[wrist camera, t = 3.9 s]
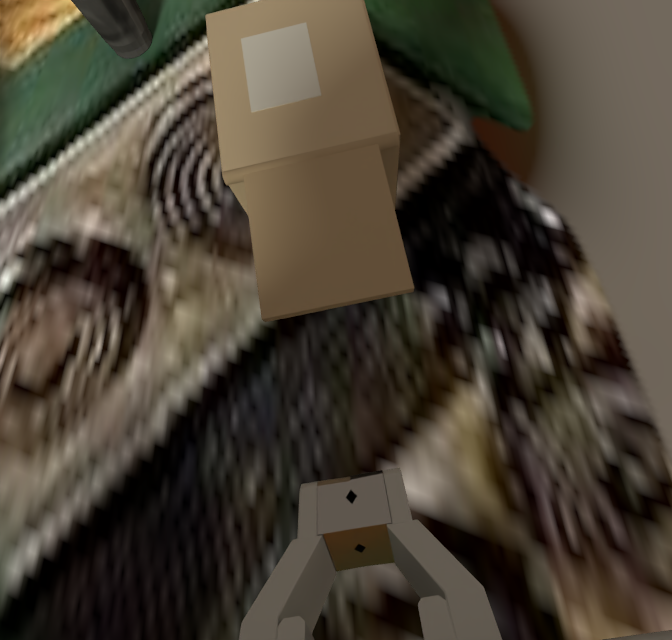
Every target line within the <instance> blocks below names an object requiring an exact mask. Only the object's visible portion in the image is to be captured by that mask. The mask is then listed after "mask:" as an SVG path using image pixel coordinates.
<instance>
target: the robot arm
mask: <svg viewBox="0 0 672 640" xmlns="http://www.w3.org/2000/svg"><path fill="white" fill-rule="evenodd" d="M387 563H395V564H396V566H397V567H398V568H399V570H400V571H401V572H402V574H403V575H404V576H405V578H406V579H407V580H408V582H409V583H410V584H411V586H412V587H413V588H414V590H415V591H416V593H417V594H418V595H419V597H420V598H421V600H420V602H419V604H418V608H419V614H420V619H421V625H422V630H423V636H424V640H502V638H501V636H500V633H499V630H498V627H497V624H496V621H495V618H494V616H493V613H492V610H491V607H490V604H489V601H488V598H487V595H486V593H485V590H484V587H483V586H482V585H481V584H480V583H479V582H478V581H477V580H476V579H475V578H474V577H473V576H472V575H471V574H470V573H469V572H468V571H467V570H466V569H465V568H464V567H463V566H462V565H461V564H460V563H459V562H458V560H457V559H456V558H455V557H454V556H453V555H452V554H451V553H450V552H449V551H448V550H447V549H446V548H445V547H444V546H443V545H442V544H441V543H440V542H439V541H438V540H437V539H436V538H435V537H434V536H433V535H432V534H431V533H430V532H429V531H428V530H427V529H426V528H425V527H424V526H423V525H422V524H421V523H420V522H419V521H418V520H412V517H411V512H410V508H409V504H408V499H407V495H406V491H405V486H404V482H403V478H402V474H401V470H400V468H394V469H389V470H383V471H382V470H380V471H375V472H370V473H364V474H359V475H354V476H350V477H346V478H339V479H332V480H325V481H318V482H312V483H306V484H301V487H300V495H299V517H298V538H297V539H294V540H292V541H291V543H290V545H289V546H288V548H287V550H286V551H285V553H284V555H283V556H282V558H281V559H280V561H279V563H278V564H277V566H276V568H275V569H274V571H273V572H272V574H271V576H270V577H269V579H268V581H267V582H266V584H265V585H264V587H263V589H262V590H261V592H260V594H259V595H258V597H257V598H256V600H255V602H254V603H253V605H252V607H251V608H250V610H249V611H248V613H247V615H246V616H245V618H244V620H243V621H242V624H241V630H240V637H239V640H314V638H313V636H312V631H313V629H314V627H315V624H316V622H317V619H318V617H319V615H320V612H321V610H322V607H323V605H324V603H325V600H326V598H327V595H328V593H329V591H330V588H331V586H332V583H333V581H334V579H335V576H336V572H337V571H342V570H348V569H353V568H358V567H364V566H371V565H379V564H387ZM604 640H672V630H669V631H661V632H654V633H647V634H640V635H632V636H625V637H618V638H611V639H604Z"/></svg>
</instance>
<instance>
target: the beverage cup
mask: <svg viewBox="0 0 672 640" xmlns="http://www.w3.org/2000/svg"><path fill="white" fill-rule="evenodd" d="M71 1H72V2H73V3H74V4H75V5H76V7H77V8H78V9H79V10H80V11H81V13H82V14H83V15H84V16H85V17H86V19H87V20H88V21H89V22H90V23H91V25H92V26H93V27H94V28H95V29H96V31H97V32H98V33H99V34H100V35H101V37H102V38H103V39H104V40H105V41H106V43H108V44H109V45H110V46H111V48H112V49H114V51H115V52H116V53H117V55H119V56H120V57H122V58H134V57H137V56H140V55H141V54H143V53H144V52H145V51H146V50H147V49H148V48H149V47H150V45H151V43H152V34H151V32H150V31H149V29H148V26H147V24H146V22H145V18H144V16H143V14H142V12H141V10H140V8H139V6H138V4H137V2H136V0H71Z"/></svg>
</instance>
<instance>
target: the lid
mask: <svg viewBox="0 0 672 640" xmlns="http://www.w3.org/2000/svg"><path fill="white" fill-rule="evenodd" d="M206 24H207V33H208V42H209V51H210V60H211V69H212V78H213V87H214V96H215V105H216V115H217V124H218V133H219V142H220V151H221V160H222V169H223V172H222V174H223V179H224V181H225V184H226V185H231V184H236V183H240V182H244V184H245V191H246V199H247V207H248V215H249V223H250V231H251V238H252V246H253V254H254V262H255V270H256V277H257V285H258V293H259V301H260V309H261V317H262V320H263V321H265V322H268V321H273V320H278V319H282V318H287V317H292V316H297V315H302V314H307V313H312V312H317V311H322V310H327V309H332V308H336V307H341V306H346V305H351V304H356V303H361V302H366V301H371V300H376V299H381V298H385V297H390V296H395V295H400V294H405V293H410V292H413V291H414V285H413V281H412V277H411V273H410V269H409V265H408V261H407V257H406V253H405V249H404V245H403V241H402V237H401V233H400V229H399V225H398V221H397V217H396V213H395V209H394V205H393V201H392V197H391V193H390V189H389V185H388V181H387V177H386V173H385V169H384V165H383V161H382V157H381V153H380V151H381V150H385V149H389V148H394V147H398V146H399V136H398V133H397V130H396V126H395V123H394V119H393V115H392V112H391V108H390V104H389V100H388V97H387V93H386V89H385V86H384V82H383V78H382V74H381V71H380V67H379V63H378V60H377V56H376V52H375V49H374V45H373V41H372V37H371V34H370V30H369V26H368V23H367V19H366V15H365V11H364V8H363V4H362V0H261V1H258V2H254V3H250V4H246V5H242V6H238V7H234V8H230V9H226V10H223V11H219V12H215V13H211V14H207V15H206Z"/></svg>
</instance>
